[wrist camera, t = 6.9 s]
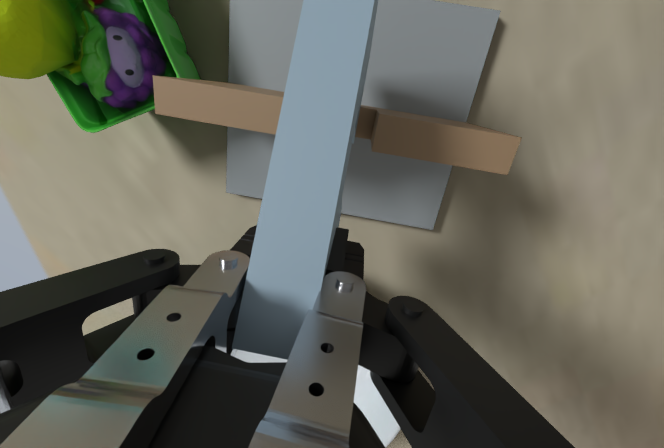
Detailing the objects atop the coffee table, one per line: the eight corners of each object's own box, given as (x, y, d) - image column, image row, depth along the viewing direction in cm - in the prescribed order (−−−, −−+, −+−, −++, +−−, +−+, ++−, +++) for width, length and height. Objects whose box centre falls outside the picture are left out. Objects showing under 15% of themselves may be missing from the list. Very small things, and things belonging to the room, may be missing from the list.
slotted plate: (334, 47, 17) (329, -129, 9) (370, 53, 17) (396, -120, 9) (285, 300, 16) (231, 348, 8) (323, 308, 16) (307, 363, 8)
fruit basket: (226, 96, 22) (101, 95, 12) (125, 133, 24) (-60, 162, 14) (146, -104, 18) (-145, -365, 8) (33, -41, 20) (-322, -186, 10)
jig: (235, -26, 19) (139, -115, 11) (495, 14, 19) (593, -49, 11) (230, 189, 25) (163, 235, 17) (430, 225, 24) (462, 291, 16)
